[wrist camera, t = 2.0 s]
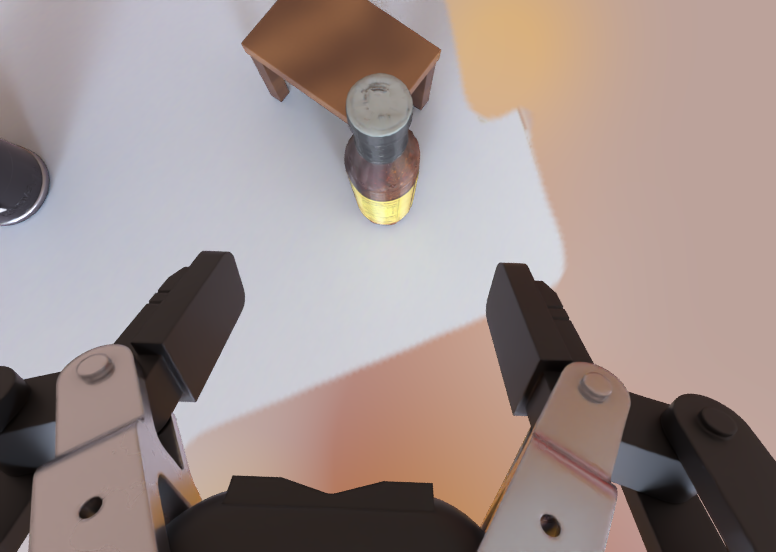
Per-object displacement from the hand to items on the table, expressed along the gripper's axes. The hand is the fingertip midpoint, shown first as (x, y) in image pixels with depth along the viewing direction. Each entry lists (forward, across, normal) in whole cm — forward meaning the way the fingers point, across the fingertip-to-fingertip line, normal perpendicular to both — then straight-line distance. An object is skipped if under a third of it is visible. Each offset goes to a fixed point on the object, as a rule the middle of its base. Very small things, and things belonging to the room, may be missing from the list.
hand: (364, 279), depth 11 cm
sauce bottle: (+28, 0, +12) cm, 31 cm away
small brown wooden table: (+37, +5, +2) cm, 37 cm away
